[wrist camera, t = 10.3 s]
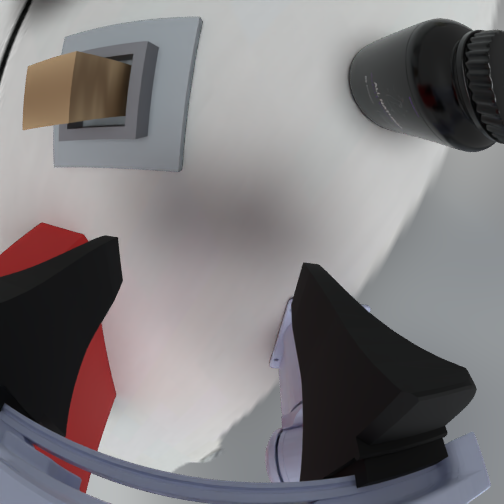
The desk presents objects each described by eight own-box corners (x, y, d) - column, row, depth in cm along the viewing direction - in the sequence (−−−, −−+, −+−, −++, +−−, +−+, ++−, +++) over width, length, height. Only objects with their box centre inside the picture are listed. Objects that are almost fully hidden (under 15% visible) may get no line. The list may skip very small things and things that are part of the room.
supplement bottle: (334, 107, 16) (448, 111, 5) (359, 28, 12) (466, -31, 2) (413, 146, 16) (537, 201, 6) (435, 73, 13) (558, 78, 3)
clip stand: (181, 169, 18) (169, 179, 15) (60, 164, 17) (38, 173, 15) (202, 21, 13) (193, 6, 10) (71, 38, 12) (49, 33, 9)
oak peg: (131, 115, 15) (68, 123, 9) (89, 117, 15) (22, 130, 9) (136, 66, 13) (76, 51, 7) (94, 72, 13) (27, 66, 7)
